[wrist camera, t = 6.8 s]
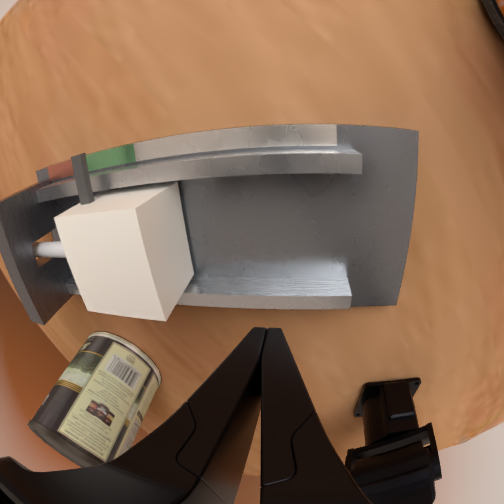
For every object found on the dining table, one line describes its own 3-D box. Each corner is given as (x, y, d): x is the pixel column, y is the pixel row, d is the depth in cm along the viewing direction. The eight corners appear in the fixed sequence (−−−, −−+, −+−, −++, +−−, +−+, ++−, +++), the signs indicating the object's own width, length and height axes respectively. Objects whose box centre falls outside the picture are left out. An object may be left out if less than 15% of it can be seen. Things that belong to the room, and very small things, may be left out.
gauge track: (391, 295, 19) (419, 367, 13) (80, 285, 24) (36, 330, 17) (410, 129, 14) (475, 143, 7) (45, 167, 18) (-17, 194, 12)
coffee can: (93, 367, 31) (46, 445, 19) (83, 317, 26) (12, 409, 14) (160, 399, 31) (122, 489, 19) (164, 355, 26) (108, 473, 14)
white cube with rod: (194, 274, 19) (166, 321, 14) (53, 268, 21) (20, 297, 17) (171, 132, 15) (123, 142, 10) (26, 172, 17) (-16, 191, 13)
